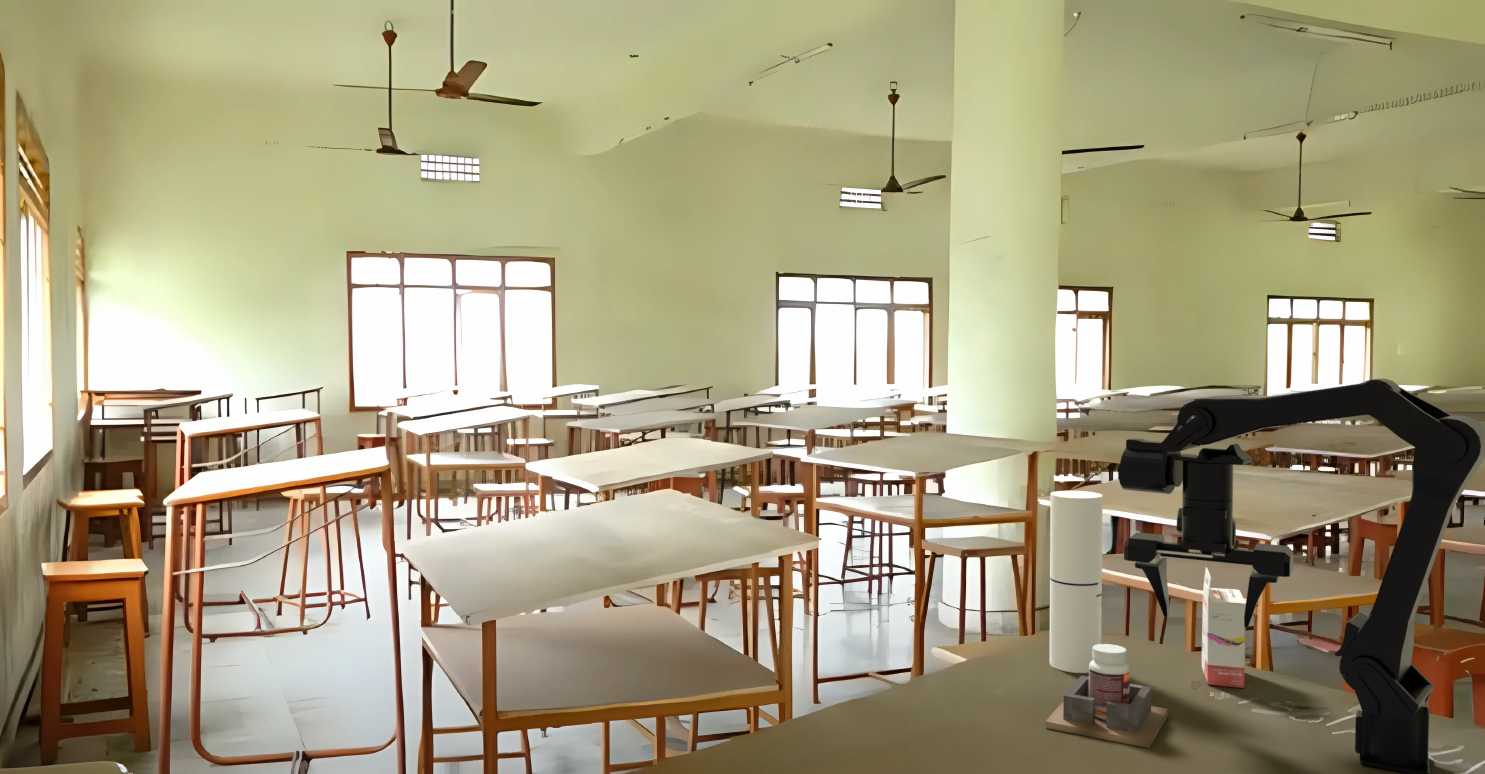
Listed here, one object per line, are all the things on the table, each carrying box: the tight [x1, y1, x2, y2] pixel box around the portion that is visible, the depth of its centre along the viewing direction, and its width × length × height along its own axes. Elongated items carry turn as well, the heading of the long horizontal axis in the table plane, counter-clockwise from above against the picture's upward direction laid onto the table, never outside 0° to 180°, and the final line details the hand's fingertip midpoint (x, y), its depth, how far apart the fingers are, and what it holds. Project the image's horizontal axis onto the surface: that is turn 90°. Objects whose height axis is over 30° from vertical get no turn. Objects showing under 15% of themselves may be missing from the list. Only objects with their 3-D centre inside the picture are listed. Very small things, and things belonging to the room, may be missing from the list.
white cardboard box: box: [1201, 566, 1246, 689], centre depth 142 cm, size 9×5×15 cm, turn 161°
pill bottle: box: [1088, 643, 1131, 720], centre depth 126 cm, size 5×5×8 cm
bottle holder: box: [1045, 675, 1169, 749], centre depth 126 cm, size 12×12×4 cm
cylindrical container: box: [1049, 490, 1104, 674], centre depth 148 cm, size 7×7×25 cm
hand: (1205, 621), depth 127 cm, fingers open, 9 cm apart
